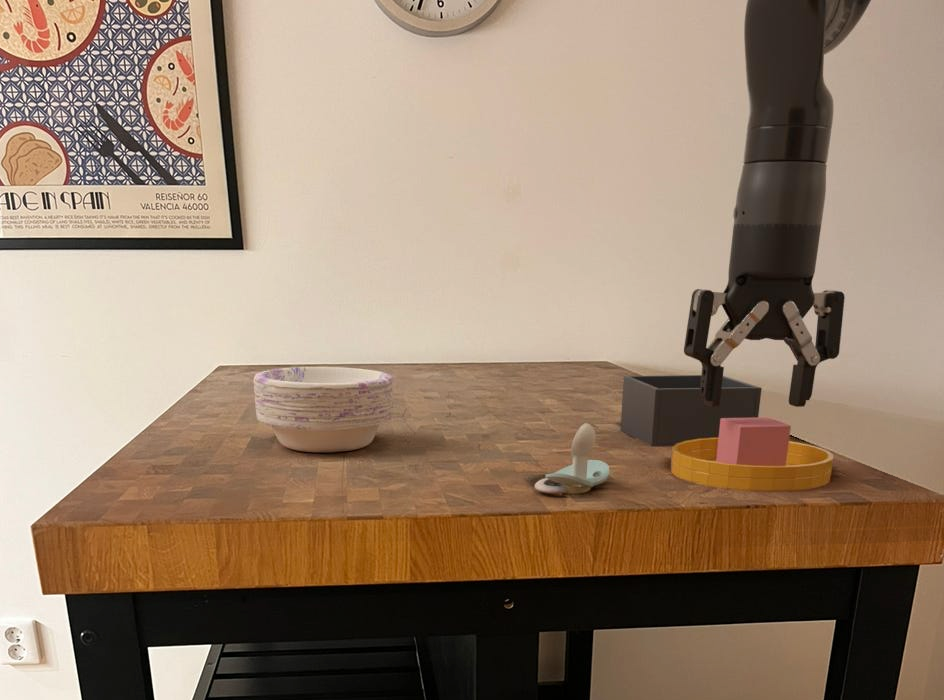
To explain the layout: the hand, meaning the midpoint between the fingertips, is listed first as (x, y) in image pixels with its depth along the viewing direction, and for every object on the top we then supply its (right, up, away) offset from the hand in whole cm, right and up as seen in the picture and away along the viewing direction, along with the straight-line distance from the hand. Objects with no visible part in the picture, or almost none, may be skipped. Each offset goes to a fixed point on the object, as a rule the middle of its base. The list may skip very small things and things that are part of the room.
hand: (754, 405), depth 92 cm
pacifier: (-18, -9, -3) cm, 21 cm away
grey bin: (-2, +2, +22) cm, 22 cm away
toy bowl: (0, -6, +2) cm, 7 cm away
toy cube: (0, -6, +2) cm, 7 cm away
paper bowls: (-43, -1, +17) cm, 46 cm away
